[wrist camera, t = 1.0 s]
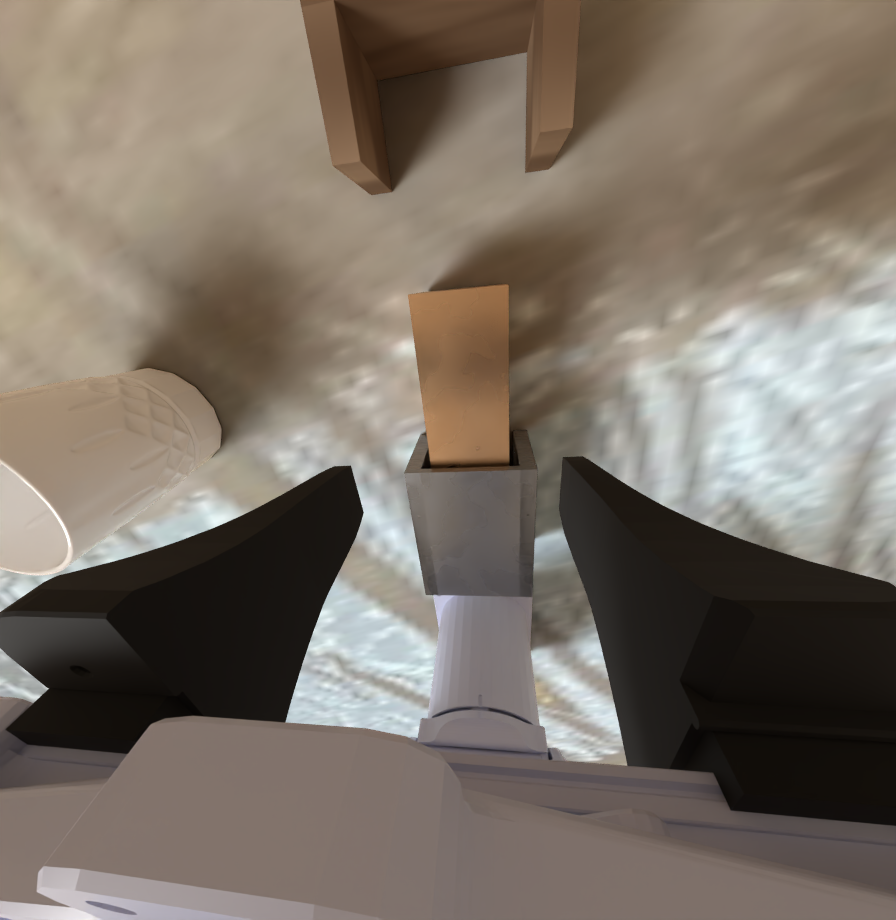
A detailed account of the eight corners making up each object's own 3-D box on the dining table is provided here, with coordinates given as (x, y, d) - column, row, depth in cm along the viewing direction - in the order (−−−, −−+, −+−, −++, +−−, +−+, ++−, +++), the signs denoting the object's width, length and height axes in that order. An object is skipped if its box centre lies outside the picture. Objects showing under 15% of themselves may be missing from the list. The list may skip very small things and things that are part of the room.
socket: (549, 169, 14) (572, 127, 10) (371, 195, 15) (332, 165, 11) (555, 6, 12) (588, -124, 8) (348, 49, 13) (290, -48, 9)
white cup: (255, 443, 22) (108, 546, 14) (182, 483, 25) (17, 593, 16) (163, 334, 19) (-100, 378, 11) (90, 391, 22) (-175, 466, 13)
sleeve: (523, 542, 24) (532, 597, 20) (435, 542, 25) (425, 594, 21) (526, 429, 20) (537, 469, 16) (420, 434, 21) (404, 473, 17)
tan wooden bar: (506, 533, 24) (509, 577, 20) (451, 534, 24) (445, 576, 21) (503, 283, 16) (508, 284, 13) (424, 291, 17) (408, 294, 13)
